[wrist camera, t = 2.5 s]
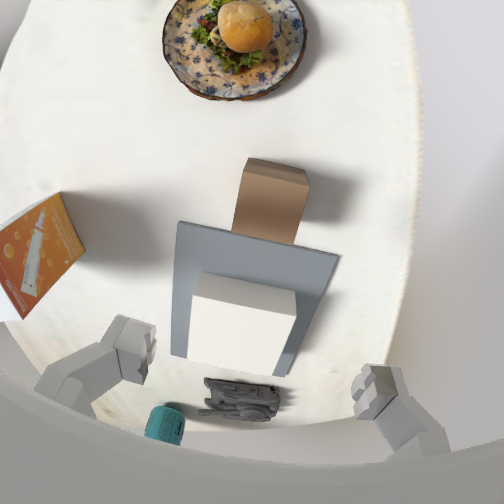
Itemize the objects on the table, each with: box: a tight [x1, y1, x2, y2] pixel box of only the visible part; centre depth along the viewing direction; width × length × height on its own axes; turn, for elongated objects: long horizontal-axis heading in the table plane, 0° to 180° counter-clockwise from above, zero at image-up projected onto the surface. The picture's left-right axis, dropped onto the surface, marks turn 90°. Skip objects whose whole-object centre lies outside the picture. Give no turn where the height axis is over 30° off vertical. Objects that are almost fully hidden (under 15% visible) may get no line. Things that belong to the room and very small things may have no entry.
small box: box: [0, 192, 85, 322], centre depth 25 cm, size 8×6×13 cm
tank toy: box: [198, 377, 280, 422], centre depth 41 cm, size 12×10×5 cm
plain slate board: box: [171, 221, 337, 377], centre depth 34 cm, size 20×16×1 cm
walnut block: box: [231, 158, 310, 245], centre depth 25 cm, size 5×5×5 cm
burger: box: [162, 0, 307, 102], centre depth 17 cm, size 12×12×8 cm
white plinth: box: [187, 272, 297, 376], centre depth 32 cm, size 10×10×4 cm
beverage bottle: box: [144, 406, 186, 446], centre depth 39 cm, size 6×7×20 cm
